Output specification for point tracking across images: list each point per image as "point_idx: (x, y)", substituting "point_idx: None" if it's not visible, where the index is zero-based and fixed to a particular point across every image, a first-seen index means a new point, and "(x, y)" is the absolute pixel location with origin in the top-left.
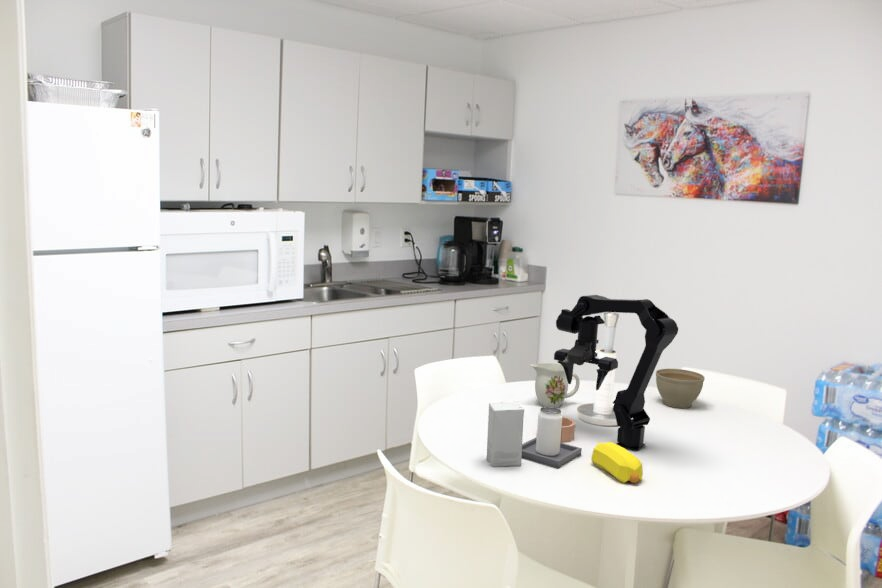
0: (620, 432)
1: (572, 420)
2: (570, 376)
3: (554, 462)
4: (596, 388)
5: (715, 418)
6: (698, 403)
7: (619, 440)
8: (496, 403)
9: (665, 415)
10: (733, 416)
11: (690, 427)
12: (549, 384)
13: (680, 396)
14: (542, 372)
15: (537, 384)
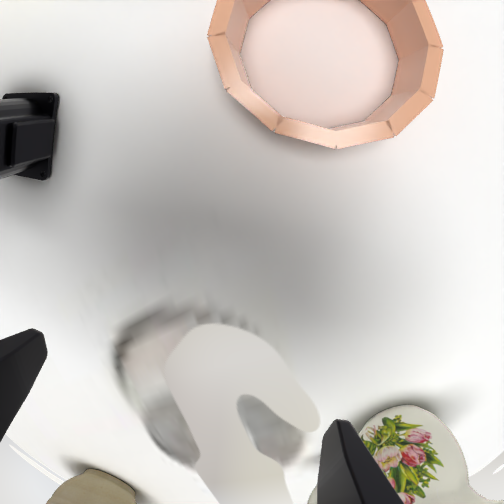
0: (17, 117)
1: (242, 99)
2: (336, 497)
3: None
4: (27, 336)
5: (30, 429)
6: None
7: (41, 114)
8: None
9: (86, 436)
10: (25, 438)
11: None
12: (426, 467)
13: (78, 483)
14: (462, 500)
15: (462, 456)
